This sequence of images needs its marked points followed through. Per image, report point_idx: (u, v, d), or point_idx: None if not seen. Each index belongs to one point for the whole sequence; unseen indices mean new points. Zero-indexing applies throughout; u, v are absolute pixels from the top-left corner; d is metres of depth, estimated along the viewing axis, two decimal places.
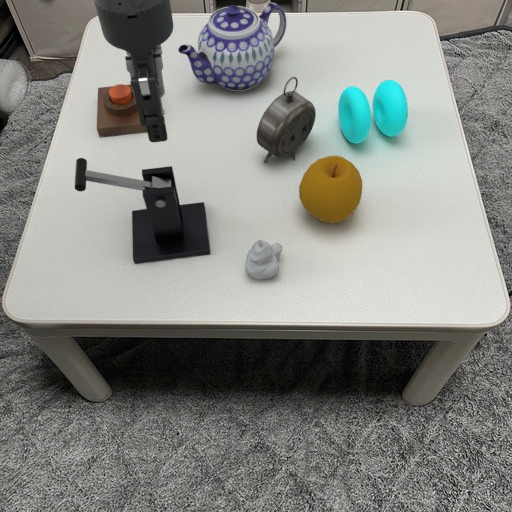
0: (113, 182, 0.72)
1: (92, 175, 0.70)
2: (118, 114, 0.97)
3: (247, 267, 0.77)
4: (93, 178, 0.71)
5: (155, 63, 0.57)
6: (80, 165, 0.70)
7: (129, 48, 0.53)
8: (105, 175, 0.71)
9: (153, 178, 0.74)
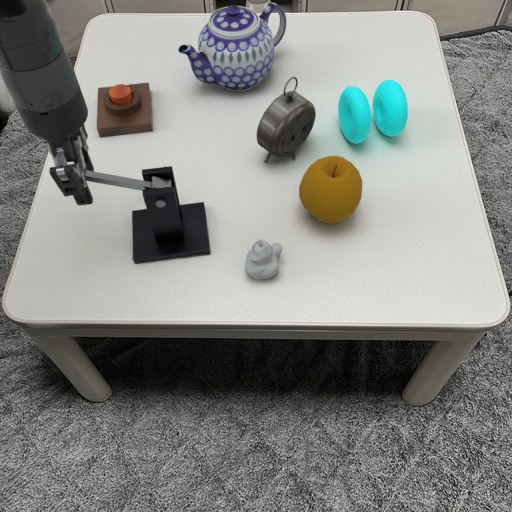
0: (113, 182, 0.72)
1: (92, 175, 0.70)
2: (118, 114, 0.97)
3: (247, 267, 0.77)
4: (93, 178, 0.71)
5: (73, 145, 0.63)
6: None
7: (45, 137, 0.60)
8: (105, 175, 0.71)
9: (153, 178, 0.74)
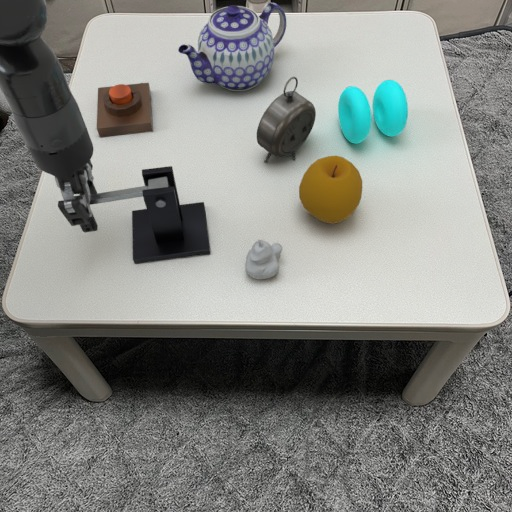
0: (114, 198, 0.74)
1: (93, 197, 0.74)
2: (118, 114, 0.97)
3: (247, 267, 0.77)
4: (95, 200, 0.74)
5: (80, 179, 0.68)
6: None
7: (54, 173, 0.65)
8: (105, 194, 0.74)
9: (149, 181, 0.74)
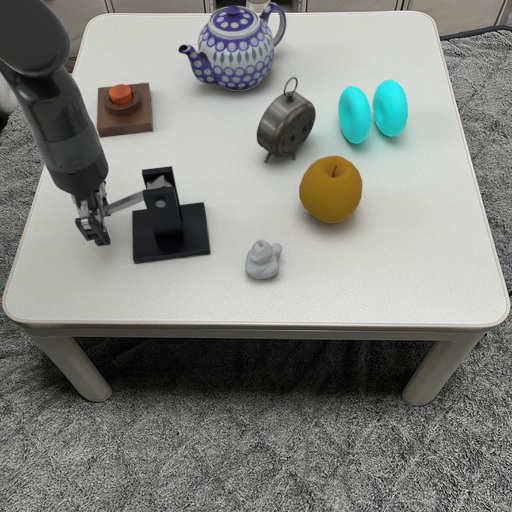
0: (120, 207, 0.76)
1: None
2: (118, 114, 0.97)
3: (247, 267, 0.77)
4: None
5: (95, 197, 0.71)
6: None
7: (71, 192, 0.68)
8: (112, 204, 0.76)
9: (147, 183, 0.75)
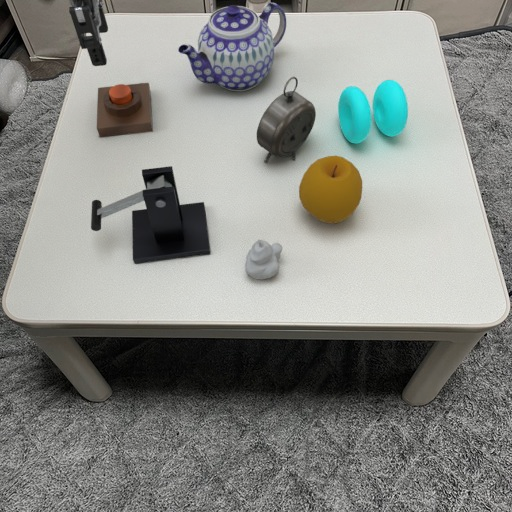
0: (120, 207, 0.76)
1: (102, 211, 0.77)
2: (118, 114, 0.97)
3: (247, 267, 0.77)
4: (104, 213, 0.77)
5: None
6: (92, 208, 0.78)
7: None
8: (112, 205, 0.77)
9: (147, 183, 0.75)
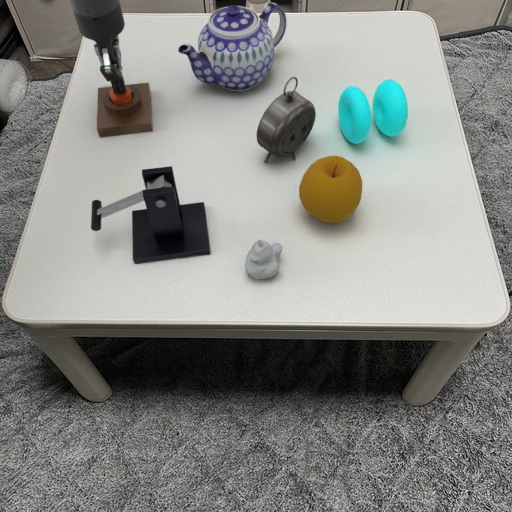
0: (120, 207, 0.76)
1: (102, 211, 0.77)
2: (118, 114, 0.97)
3: (247, 267, 0.77)
4: (104, 213, 0.77)
5: (113, 48, 0.87)
6: (92, 208, 0.78)
7: (95, 38, 0.84)
8: (112, 205, 0.77)
9: (147, 183, 0.75)
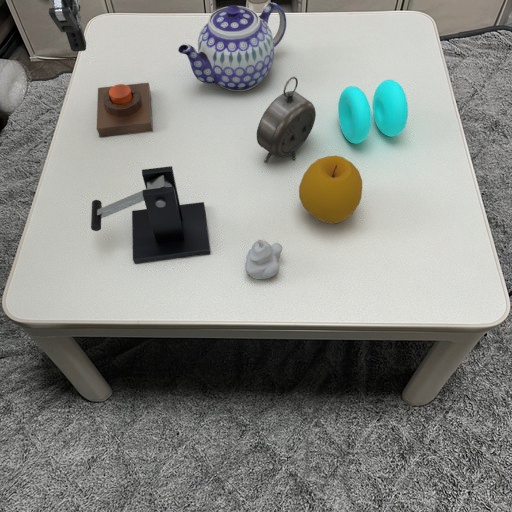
0: (120, 207, 0.76)
1: (102, 211, 0.77)
2: (118, 114, 0.97)
3: (247, 267, 0.77)
4: (104, 213, 0.77)
5: None
6: (92, 208, 0.78)
7: None
8: (112, 205, 0.77)
9: (147, 183, 0.75)
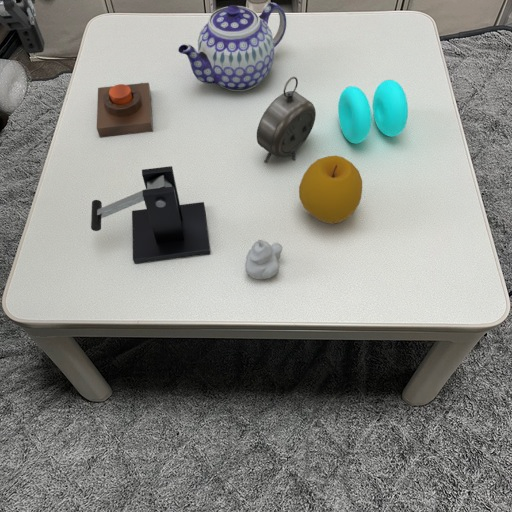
0: (120, 207, 0.76)
1: (102, 211, 0.77)
2: (118, 114, 0.97)
3: (247, 267, 0.77)
4: (104, 213, 0.77)
5: None
6: (92, 208, 0.78)
7: None
8: (112, 205, 0.77)
9: (147, 183, 0.75)
